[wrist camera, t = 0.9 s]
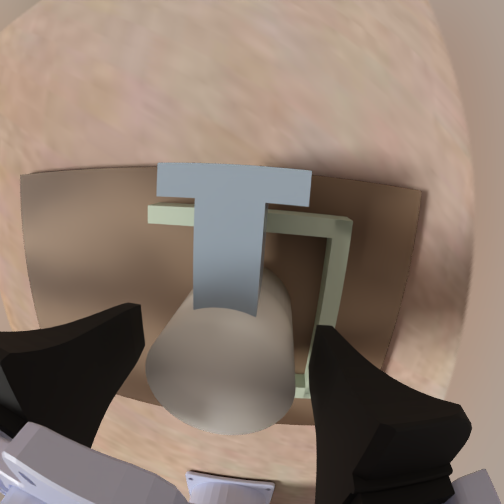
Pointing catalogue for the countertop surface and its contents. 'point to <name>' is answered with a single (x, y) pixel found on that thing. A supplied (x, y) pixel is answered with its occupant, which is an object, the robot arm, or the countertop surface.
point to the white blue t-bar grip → (229, 303)
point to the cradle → (297, 224)
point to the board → (181, 259)
